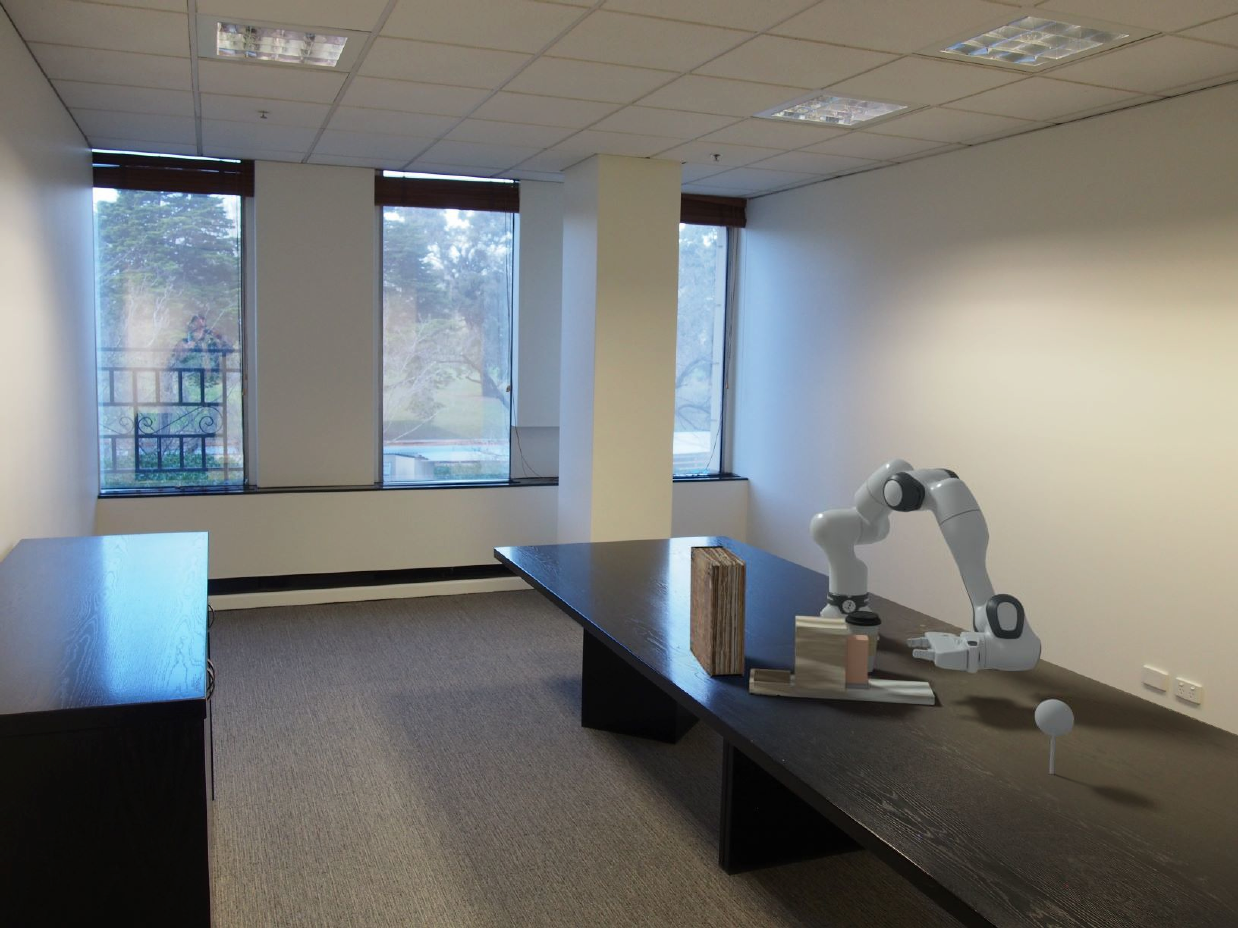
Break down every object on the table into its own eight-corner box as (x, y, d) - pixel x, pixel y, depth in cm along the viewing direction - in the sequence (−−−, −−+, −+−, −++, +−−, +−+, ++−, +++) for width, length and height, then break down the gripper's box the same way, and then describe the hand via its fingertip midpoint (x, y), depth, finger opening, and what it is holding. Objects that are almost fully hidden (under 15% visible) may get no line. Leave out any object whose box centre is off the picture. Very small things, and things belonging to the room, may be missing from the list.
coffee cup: (854, 675, 258) (856, 619, 256) (837, 665, 267) (838, 611, 265) (886, 673, 260) (888, 617, 259) (868, 662, 269) (870, 608, 268)
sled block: (818, 678, 249) (819, 632, 247) (867, 681, 247) (868, 634, 246) (819, 686, 243) (820, 638, 242) (869, 689, 241) (870, 641, 240)
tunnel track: (750, 679, 254) (752, 613, 252) (927, 689, 247) (930, 621, 245) (749, 693, 243) (750, 624, 242) (934, 704, 236) (937, 633, 234)
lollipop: (1060, 765, 200) (1064, 694, 199) (1077, 780, 193) (1081, 706, 192) (1026, 766, 200) (1029, 694, 199) (1042, 780, 193) (1045, 706, 192)
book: (744, 676, 257) (746, 563, 254) (709, 677, 256) (711, 563, 253) (721, 648, 282) (722, 545, 279) (689, 649, 281) (690, 546, 278)
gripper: (962, 626, 249) (905, 624, 251) (978, 648, 229) (916, 646, 231) (961, 651, 249) (904, 648, 252) (977, 675, 229) (915, 672, 231)
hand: (910, 647), depth 241 cm, fingers open, 8 cm apart
